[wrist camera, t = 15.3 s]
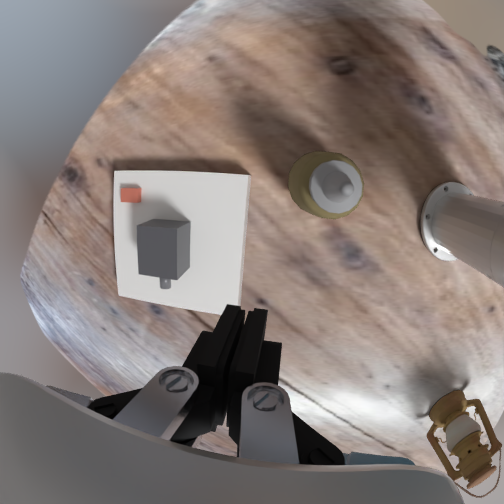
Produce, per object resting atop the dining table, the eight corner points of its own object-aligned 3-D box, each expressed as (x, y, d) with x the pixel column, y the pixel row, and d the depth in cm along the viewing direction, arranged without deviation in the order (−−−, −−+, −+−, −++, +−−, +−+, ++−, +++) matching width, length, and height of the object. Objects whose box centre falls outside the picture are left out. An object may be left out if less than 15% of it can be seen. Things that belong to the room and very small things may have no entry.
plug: (162, 215, 39) (136, 225, 32) (197, 218, 39) (177, 228, 31) (162, 271, 42) (139, 290, 34) (195, 276, 41) (177, 297, 34)
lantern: (432, 428, 47) (462, 512, 18) (414, 420, 46) (446, 517, 18) (474, 390, 43) (520, 471, 14) (461, 378, 42) (514, 471, 13)
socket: (251, 175, 36) (247, 175, 32) (240, 307, 42) (235, 320, 38) (124, 170, 38) (110, 171, 34) (127, 288, 44) (115, 297, 40)
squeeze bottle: (276, 170, 36) (270, 165, 19) (327, 143, 34) (365, 117, 17) (305, 221, 37) (323, 262, 20) (355, 195, 35) (411, 213, 18)
